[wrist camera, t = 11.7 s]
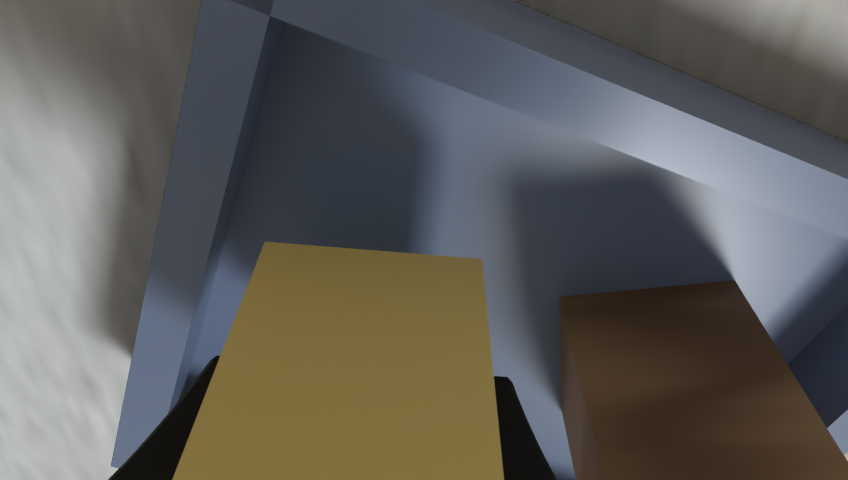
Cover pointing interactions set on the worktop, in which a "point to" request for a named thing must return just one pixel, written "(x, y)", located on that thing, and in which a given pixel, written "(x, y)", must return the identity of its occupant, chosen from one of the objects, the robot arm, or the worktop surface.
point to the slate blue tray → (484, 186)
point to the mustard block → (352, 372)
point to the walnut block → (684, 391)
